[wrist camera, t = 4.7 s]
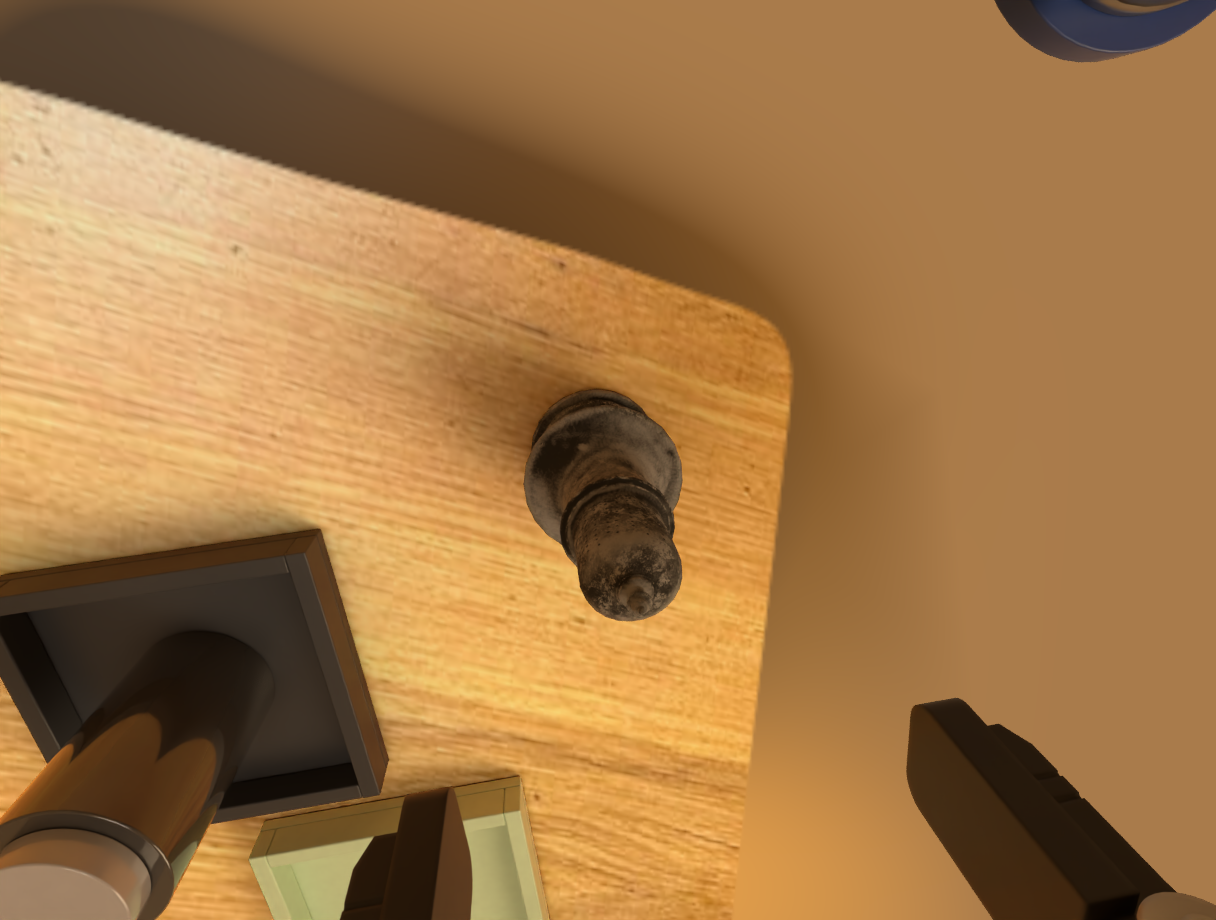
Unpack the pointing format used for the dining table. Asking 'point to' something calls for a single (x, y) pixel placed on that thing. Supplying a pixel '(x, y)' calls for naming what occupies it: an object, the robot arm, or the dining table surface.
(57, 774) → the brown jar with lid
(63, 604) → the dark tray
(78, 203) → the dining table surface
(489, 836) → the light tray
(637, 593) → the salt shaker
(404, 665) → the dining table surface
